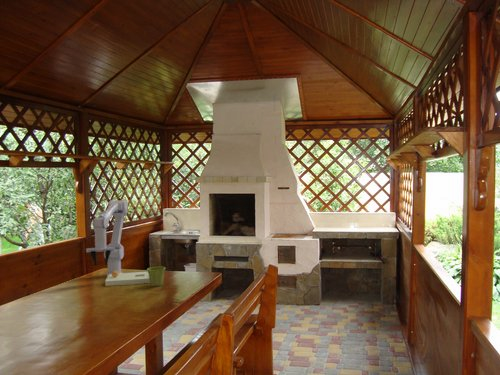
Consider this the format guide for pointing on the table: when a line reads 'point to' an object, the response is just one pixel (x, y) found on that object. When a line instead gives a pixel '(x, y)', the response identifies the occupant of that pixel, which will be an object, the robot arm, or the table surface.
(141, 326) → the table surface
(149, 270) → the plant pot
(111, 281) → the deck
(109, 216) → the robot arm
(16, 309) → the table surface
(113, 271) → the ball
